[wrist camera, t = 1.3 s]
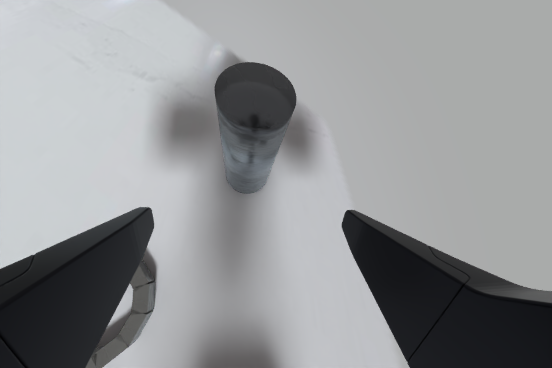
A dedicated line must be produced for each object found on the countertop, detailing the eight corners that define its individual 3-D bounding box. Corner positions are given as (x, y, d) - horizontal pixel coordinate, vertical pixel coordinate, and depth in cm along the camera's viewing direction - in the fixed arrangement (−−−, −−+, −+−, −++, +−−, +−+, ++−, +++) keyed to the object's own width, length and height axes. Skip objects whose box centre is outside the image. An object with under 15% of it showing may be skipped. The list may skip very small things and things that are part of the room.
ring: (173, 311, 18) (168, 315, 17) (62, 398, 15) (45, 412, 14) (126, 232, 20) (118, 230, 18) (17, 297, 17) (-2, 300, 15)
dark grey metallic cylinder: (275, 179, 25) (311, 105, 13) (241, 201, 23) (247, 141, 11) (251, 149, 25) (264, 53, 13) (217, 168, 24) (198, 78, 12)
